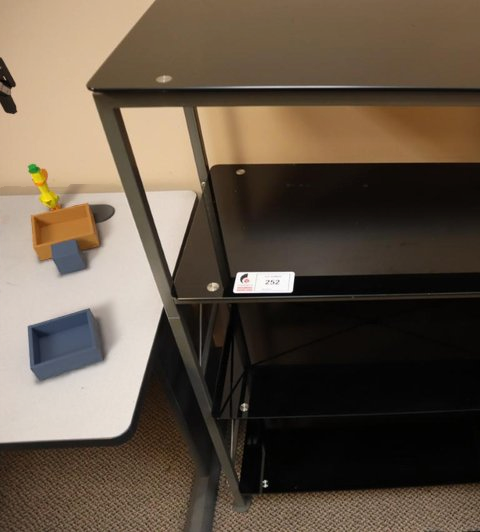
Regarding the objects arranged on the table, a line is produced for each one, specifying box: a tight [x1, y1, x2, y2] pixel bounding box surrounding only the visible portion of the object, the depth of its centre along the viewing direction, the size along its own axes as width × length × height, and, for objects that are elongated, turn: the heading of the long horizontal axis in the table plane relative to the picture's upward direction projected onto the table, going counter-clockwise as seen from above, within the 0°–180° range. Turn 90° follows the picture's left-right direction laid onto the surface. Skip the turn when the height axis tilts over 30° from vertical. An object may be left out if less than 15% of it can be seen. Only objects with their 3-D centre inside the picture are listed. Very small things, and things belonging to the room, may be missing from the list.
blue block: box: [51, 239, 87, 276], centre depth 101 cm, size 4×4×4 cm
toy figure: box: [27, 163, 62, 211], centre depth 110 cm, size 7×4×12 cm, turn 18°
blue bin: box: [27, 307, 104, 382], centre depth 88 cm, size 10×10×4 cm
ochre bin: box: [30, 202, 101, 262], centre depth 107 cm, size 11×11×4 cm
